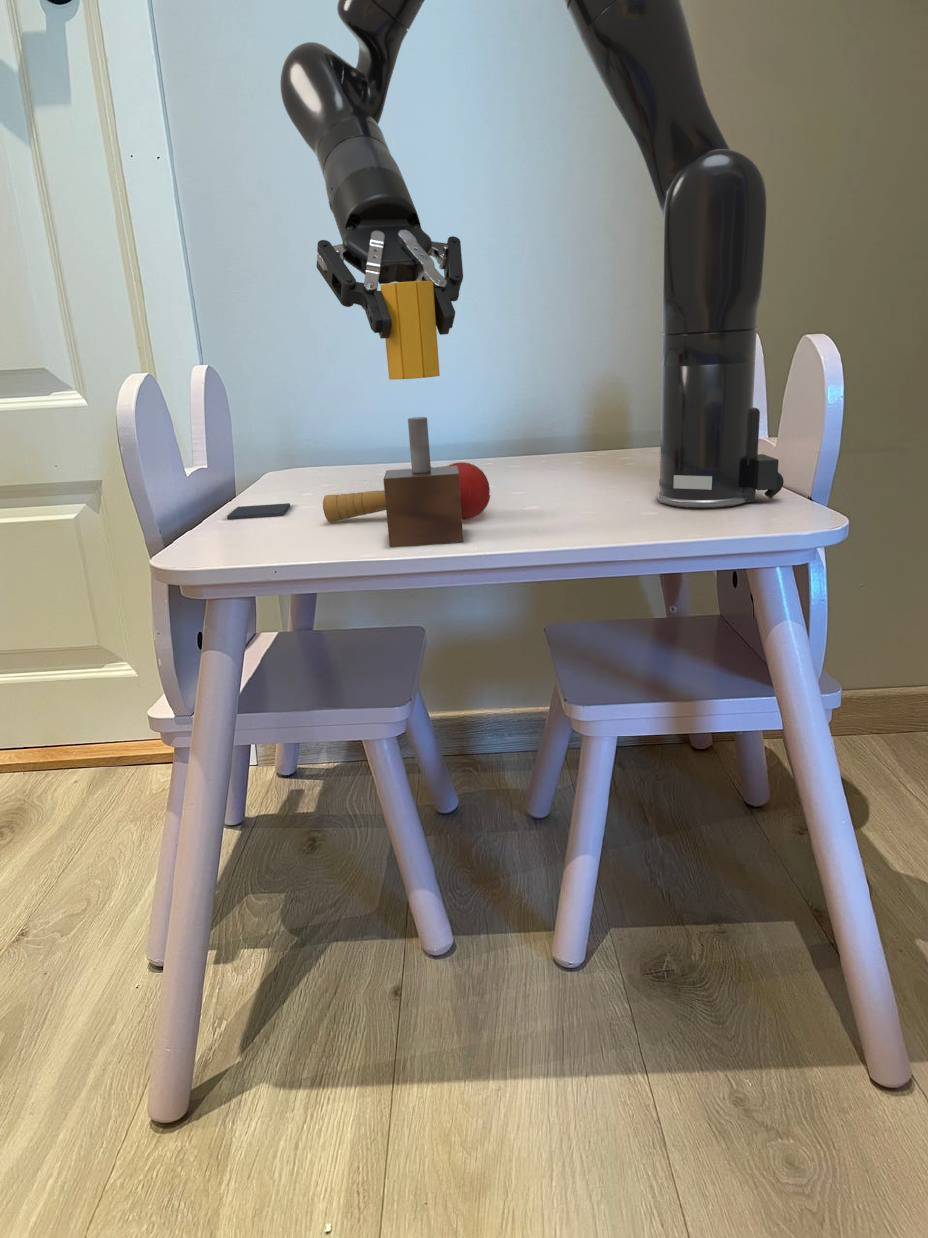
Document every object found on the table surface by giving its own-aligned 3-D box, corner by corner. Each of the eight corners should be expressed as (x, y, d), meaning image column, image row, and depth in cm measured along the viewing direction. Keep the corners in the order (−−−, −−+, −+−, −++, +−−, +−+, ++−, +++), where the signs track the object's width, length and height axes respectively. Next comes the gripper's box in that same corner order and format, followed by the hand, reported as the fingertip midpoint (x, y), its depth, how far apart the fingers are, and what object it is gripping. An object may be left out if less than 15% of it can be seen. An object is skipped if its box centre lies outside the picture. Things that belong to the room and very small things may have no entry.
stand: (461, 530, 83) (454, 413, 79) (463, 542, 78) (455, 417, 74) (391, 535, 83) (381, 417, 79) (389, 547, 78) (378, 422, 74)
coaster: (290, 506, 101) (289, 503, 101) (282, 515, 96) (282, 512, 96) (238, 509, 101) (237, 506, 101) (227, 519, 96) (226, 515, 96)
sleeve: (439, 374, 78) (432, 283, 75) (439, 376, 74) (432, 279, 71) (390, 377, 78) (382, 286, 75) (388, 380, 73) (379, 283, 71)
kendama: (319, 543, 87) (486, 516, 83) (308, 483, 86) (476, 452, 82) (344, 539, 94) (499, 513, 90) (334, 483, 93) (489, 455, 89)
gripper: (296, 164, 74) (340, 299, 67) (447, 163, 78) (502, 290, 72) (294, 236, 81) (334, 366, 74) (434, 232, 85) (483, 355, 78)
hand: (416, 328), depth 73 cm, fingers closed on sleeve, 5 cm apart
